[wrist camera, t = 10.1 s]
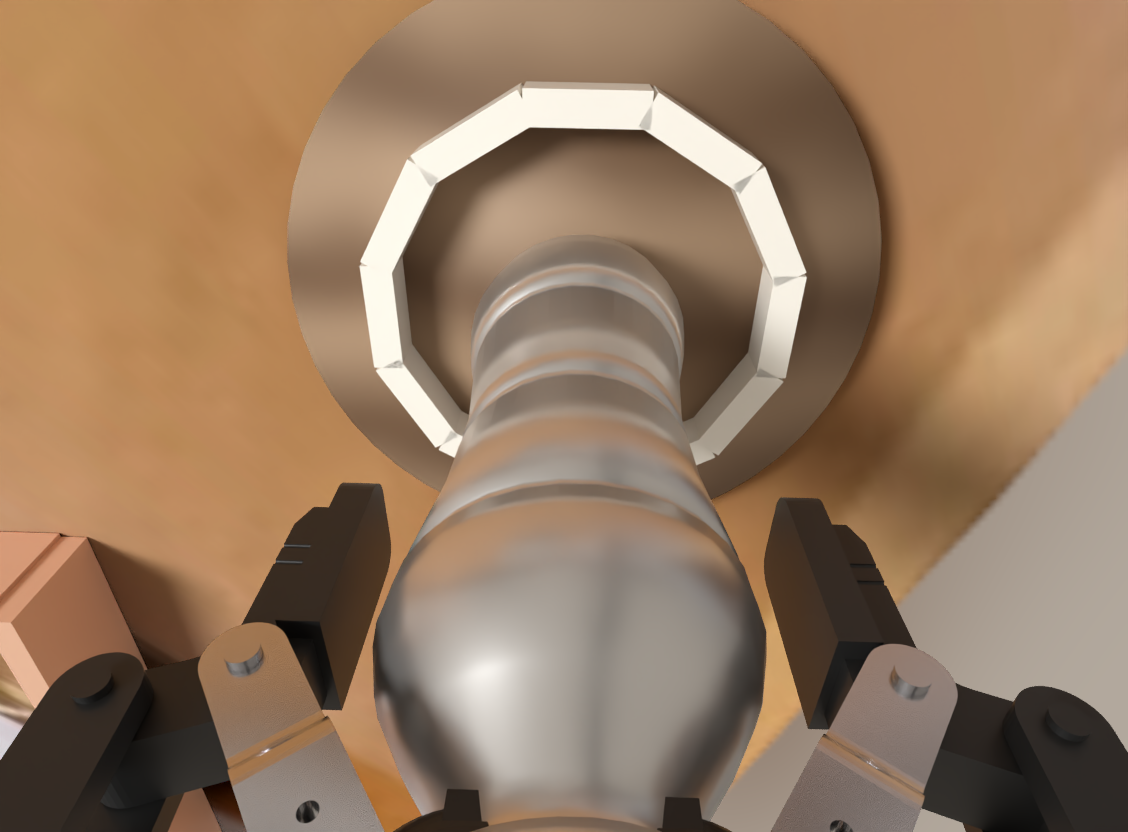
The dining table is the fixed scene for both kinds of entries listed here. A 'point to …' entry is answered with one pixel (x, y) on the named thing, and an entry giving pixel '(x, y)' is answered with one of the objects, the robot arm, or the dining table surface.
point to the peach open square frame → (67, 627)
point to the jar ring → (589, 111)
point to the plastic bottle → (572, 571)
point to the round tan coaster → (586, 201)
